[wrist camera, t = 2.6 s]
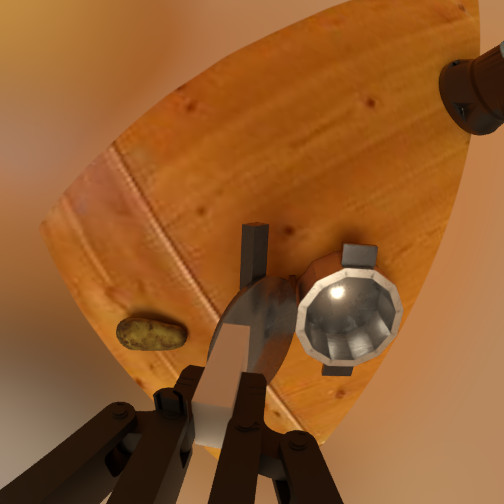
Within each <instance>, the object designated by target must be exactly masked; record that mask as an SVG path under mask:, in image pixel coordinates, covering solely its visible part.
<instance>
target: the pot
mask: <svg viewBox="0 0 504 504" xmlns="http://www.w3.org/2000/svg"><path fill="white" fill-rule="evenodd" d="M377 250H378V247H377V246H376V245H370V244H358V243H346V242H342V251H341V252H333V253H331V254H329V255H327V256H325V257H323V258H321V259H318V260H316V261H314V262H312V263H311V264H310V266H309V267H308V269H307V270H306V271H305V273H304V274H303V275H302V277H301V278H300V279H299V281H298V282H297V288H296V277H295V275H289V283H290V284H291V286H292V288H293V290H294V293H295V296H296V303H297V306H298V311H297V320H296V328H295V332H296V334H297V336H298V338H299V340H300V342H301V344H302V346H303V348H304V350H305V351H306V353H307V354H308V355H310V356H312V357H313V358H315V359H317V360H319V361H320V362H322V363H323V366H322V371H321V372H322V376H351V374H352V370H353V367H354V366H356V365H359V364H361V363H363V362H365V361H368V360H370V359H372V358H374V357H377V356H379V355H380V354H381V353H382V351H383V350H384V349H385V348H386V347H387V346H388V345H389V344H390V343H391V341H392V340H393V339H394V338H395V337H396V336H397V333H398V329H399V325H400V322H401V318H402V314H403V307H402V304H401V300H400V297H399V294H398V291H397V288H396V286H395V285H394V284H393V282H392V281H391V280H390V279H389V278H388V277H387V276H386V275H385V274H384V273H383V272H382V271H381V270H380V269H379V268H378V267H377V266H376V265H375V263H376V257H377Z"/></svg>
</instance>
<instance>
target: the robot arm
mask: <svg viewBox="0 0 504 504" xmlns="http://www.w3.org/2000/svg"><path fill="white" fill-rule="evenodd" d="M439 88H440V94H441V97H442V100H443V103H444V105H445V107H446V109H447V111H448V113H449V114H450V116H451V117H452V118H453V120H454V121H455V122H456V123H457V124H458V125H459V126H460V127H461V128H462V129H464V130H465V131H467V132H469V133H471V134H474V135H486V134H490V133H492V132H494V131H495V130H496V129H497V128H498V127H499V126H501V124H503V123H504V41H503V42H501V44H500V45H498V46H496V47H494V48H493V49H491V50H489V51H488V52H486V53H484V54H483V55H481V56H479V57H478V58H476V59H459V60H455V61H452V62H451V63H449V64H448V65H446V66H445V67H444V68H443V70H442V71H441V74H440V78H439ZM249 337H250V326H244V325H235V324H226V323H223V325H222V328H221V330H220V333H219V335H218V338H217V340H216V342H215V345H214V347H213V350H212V352H211V355H210V357H209V359H208V362H207V364H206V367H200V366H194V365H189V366H188V367H186V368H185V369H184V370H182V372H181V374H180V376H179V378H178V380H177V382H176V384H175V386H174V388H162V389H160V390H158V391H156V392H155V393H154V394H153V397H154V402H155V407H156V410H154V411H135V409H134V407H133V406H132V405H130V404H129V403H126V402H114V403H111V404H110V405H108V406H107V407H105V408H104V409H103V410H102V411H101V412H99V413H98V414H97V415H96V416H94V417H93V418H92V419H91V420H90V421H88V422H87V423H86V424H84V425H83V426H82V427H81V428H80V429H78V430H77V431H76V432H75V433H73V434H72V435H71V436H70V437H68V438H67V439H66V440H65V441H63V442H62V443H61V444H59V445H58V446H57V447H56V448H54V449H53V450H52V451H51V452H49V453H48V454H47V455H46V456H44V457H43V458H42V459H40V460H39V461H38V462H37V463H35V464H34V465H33V466H31V467H30V468H29V469H27V470H26V471H25V472H23V473H22V474H21V475H20V476H18V477H17V478H15V479H14V480H13V481H12V482H10V483H9V484H8V485H6V486H5V487H3V488H2V489H1V490H0V504H100V503H101V502H102V501H103V499H105V498H106V497H107V496H108V495H109V493H110V492H112V493H111V495H110V497H109V499H108V501H107V503H106V504H176V501H177V498H178V495H179V492H180V489H181V486H182V483H183V480H184V477H185V474H186V471H187V468H188V465H189V462H190V459H191V456H192V444H193V441H194V438H195V444H198V445H203V446H208V447H214V448H221V452H220V456H219V461H218V465H217V469H216V473H215V477H214V481H213V485H212V488H211V492H210V497H209V501H208V504H254V501H255V493H256V485H257V477H258V474H260V475H263V476H266V477H269V478H272V481H273V485H274V489H275V493H276V496H277V500H278V504H344V503H343V501H342V499H341V497H340V494H339V492H338V490H337V488H336V485H335V483H334V481H333V478H332V476H331V474H330V472H329V469H328V467H327V465H326V462H325V460H324V458H323V455H322V453H321V451H320V448H319V446H318V444H317V441H316V440H315V438H314V437H313V435H311V434H309V433H308V432H305V431H301V430H293V431H290V432H287V433H286V434H281V433H278V432H275V431H273V430H271V429H270V428H268V426H267V425H266V424H265V422H264V408H265V397H266V386H267V380H266V378H265V376H264V375H263V374H259V373H250V372H246V370H247V364H248V351H249Z"/></svg>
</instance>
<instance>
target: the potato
mask: <svg viewBox="0 0 504 504" xmlns="http://www.w3.org/2000/svg"><path fill="white" fill-rule="evenodd" d="M116 335H117V338H118V340H119V341H120V343H121V344H122V345H123V346H124V347H126V348H128V349H131V350H142V351H156V350H157V351H163V350H173V349H177V348H180V347H182V346H183V345H184V343H185V342H186V339H187V333H186V332H185V331H184V330H183V329H182V328H181V327H179V326H177V325H169V324H167V323H166V322H161V321H156V320H152V319H144V318H132V317H130V318H126V319H124V320H122V321H120V323H119V324H118V326H117V330H116Z"/></svg>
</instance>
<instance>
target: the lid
mask: <svg viewBox="0 0 504 504" xmlns="http://www.w3.org/2000/svg"><path fill="white" fill-rule="evenodd" d="M268 232H269V224H266V223H259V222H255V223H248V224H242V245H241V271H240V291H239V292H238V293H237V295H236V296H235V297H234V298H233V299H232V301H231V302H230V303H229V305H228V306H227V308H226V310H225V311H224V313H223V314H222V316H221V318H220V320H219V322H218V324H217V327H216V329H215V331H214V334H213V337H212V340H211V343H210V347H209V351H208V357H207V362H208V359H209V357H210V355H211V352H212V350H213V347H214V345H215V342H216V340H217V338H218V335H219V333H220V330H221V328H222V325H223V323H226V324H235V325H244V326H250V337H249V351H248V364H247V370H246V372H250V373H259V374H263V375H264V376H265V378H266V380H267V385H268V384H269V383H270V382H271V380H272V379H273V378H274V376H275V375H276V373H277V372H278V370H279V368H280V367H281V365H282V363H283V361H284V359H285V357H286V355H287V352H288V350H289V347H290V344H291V341H292V338H293V334H294V332H295V328H296V320H297V311H298V306H297V303H296V296H295V293H294V290H293V288H292V286H291V284H290V283H289V282H288V281H287V280H286V279H284V278H281V277H278V276H274V275H266V265H267V249H268Z"/></svg>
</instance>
